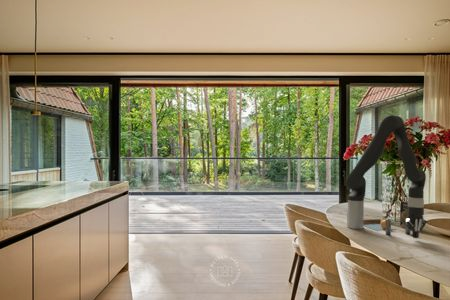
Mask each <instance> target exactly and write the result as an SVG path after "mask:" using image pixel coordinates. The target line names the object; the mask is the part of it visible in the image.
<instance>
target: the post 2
mask: <svg viewBox="0 0 450 300" xmlns="http://www.w3.org/2000/svg"><path fill="white" fill-rule="evenodd" d="M407 219H408V218H406V220H407ZM410 224H411V223H410ZM404 230H405V231H404V232H405V234H406V235H411V232H412V230H410V229H409V228H408V227H407V225H406V224H405V228H404Z"/></svg>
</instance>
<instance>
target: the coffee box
mask: <svg viewBox="0 0 450 300" xmlns="http://www.w3.org/2000/svg"><path fill="white" fill-rule="evenodd" d="M399 208H400V209H399V210H400V211H399V212H400V214H399V215H400V216H399V219H400V220H399V221H400V223H399V227H400V226H402V228H404V227H405V222H404V221H405V220H406V218H408V216H409V214H408V200H405V201H403V200H402V201H400V206H399Z"/></svg>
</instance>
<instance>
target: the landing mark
mask: <svg viewBox="0 0 450 300" xmlns="http://www.w3.org/2000/svg"><path fill="white" fill-rule="evenodd" d="M363 227H366V228H368V229H371V230H374V231H377V232H378V231H386V229H383V228H382V227H381V225H380V223H376V224H363ZM396 230H397V228H393V227H391V231H396Z"/></svg>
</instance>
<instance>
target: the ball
mask: <svg viewBox="0 0 450 300" xmlns="http://www.w3.org/2000/svg"><path fill="white" fill-rule="evenodd" d="M379 224H380V225H381V227H382V228H383V229H386V219H381V223H379Z"/></svg>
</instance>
